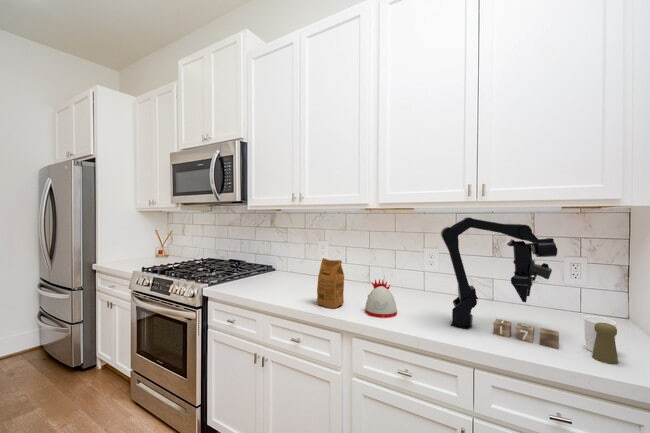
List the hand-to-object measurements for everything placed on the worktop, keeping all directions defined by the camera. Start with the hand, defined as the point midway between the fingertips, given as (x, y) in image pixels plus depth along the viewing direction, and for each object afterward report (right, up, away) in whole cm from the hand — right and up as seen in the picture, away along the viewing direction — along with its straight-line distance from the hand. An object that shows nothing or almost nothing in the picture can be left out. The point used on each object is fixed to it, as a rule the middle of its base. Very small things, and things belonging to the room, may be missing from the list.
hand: (526, 299), depth 115 cm
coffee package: (-73, -12, +32) cm, 80 cm away
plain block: (+1, -13, -11) cm, 17 cm away
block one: (-10, -13, -2) cm, 16 cm away
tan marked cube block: (-4, -13, -6) cm, 15 cm away
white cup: (+14, -13, -15) cm, 24 cm away
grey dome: (-51, -12, +21) cm, 56 cm away
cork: (+11, -13, -21) cm, 27 cm away
